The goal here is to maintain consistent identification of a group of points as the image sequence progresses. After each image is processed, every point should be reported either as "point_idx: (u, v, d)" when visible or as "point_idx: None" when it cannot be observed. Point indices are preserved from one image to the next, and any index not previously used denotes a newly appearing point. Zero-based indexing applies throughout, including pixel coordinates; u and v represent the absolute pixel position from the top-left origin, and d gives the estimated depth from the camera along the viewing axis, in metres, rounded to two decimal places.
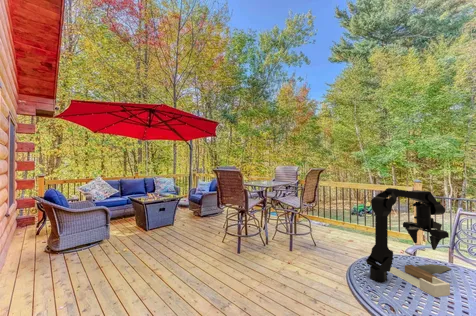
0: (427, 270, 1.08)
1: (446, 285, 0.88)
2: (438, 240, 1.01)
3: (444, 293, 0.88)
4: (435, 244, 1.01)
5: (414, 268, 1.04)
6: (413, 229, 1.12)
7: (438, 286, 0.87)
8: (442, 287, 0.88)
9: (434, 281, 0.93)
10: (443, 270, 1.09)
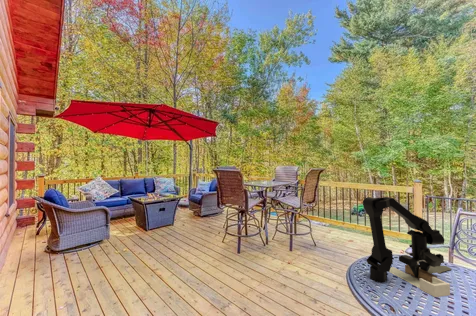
0: None
1: (446, 285, 0.88)
2: (415, 268, 1.01)
3: (444, 293, 0.88)
4: (414, 271, 1.02)
5: None
6: (424, 261, 1.03)
7: (438, 286, 0.87)
8: (442, 287, 0.88)
9: (434, 281, 0.93)
10: (443, 270, 1.09)
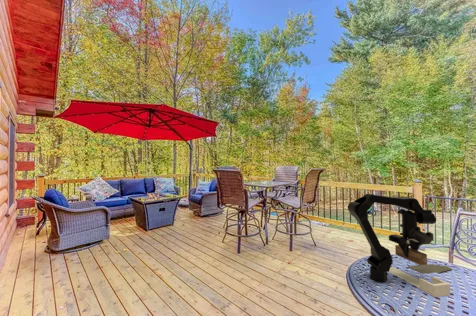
0: (425, 269, 1.09)
1: (446, 285, 0.88)
2: (405, 247, 0.99)
3: (444, 293, 0.88)
4: (403, 250, 1.01)
5: None
6: (414, 241, 1.02)
7: (438, 286, 0.87)
8: (442, 287, 0.88)
9: (434, 281, 0.93)
10: (442, 270, 1.09)
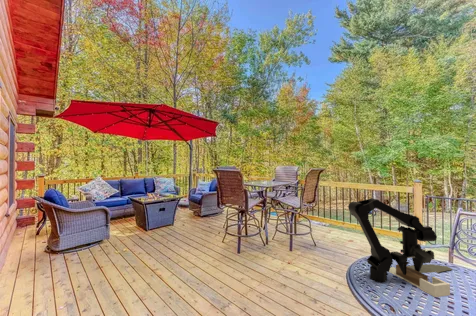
0: (423, 269, 1.09)
1: (446, 285, 0.88)
2: (403, 265, 0.99)
3: (444, 293, 0.88)
4: (401, 268, 1.00)
5: None
6: (417, 258, 1.02)
7: (438, 286, 0.87)
8: (442, 287, 0.88)
9: (434, 281, 0.93)
10: (442, 270, 1.10)
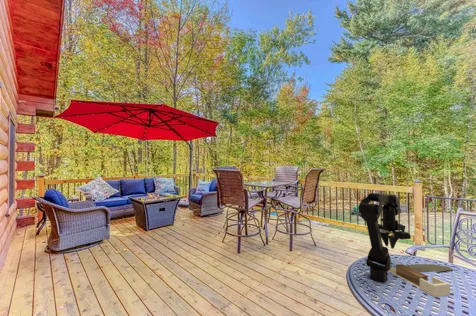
0: (422, 268, 1.10)
1: (446, 285, 0.88)
2: (396, 239, 1.09)
3: (444, 293, 0.88)
4: (393, 243, 1.09)
5: (405, 267, 1.03)
6: (385, 232, 1.14)
7: (438, 286, 0.87)
8: (442, 287, 0.88)
9: (434, 281, 0.93)
10: (441, 270, 1.10)
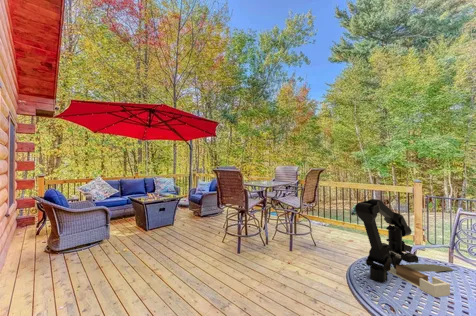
0: (421, 268, 1.10)
1: (446, 285, 0.88)
2: (400, 260, 1.07)
3: (444, 293, 0.88)
4: (397, 264, 1.07)
5: (405, 267, 1.03)
6: (393, 254, 1.09)
7: (438, 286, 0.87)
8: (442, 287, 0.88)
9: (434, 281, 0.93)
10: (441, 270, 1.10)
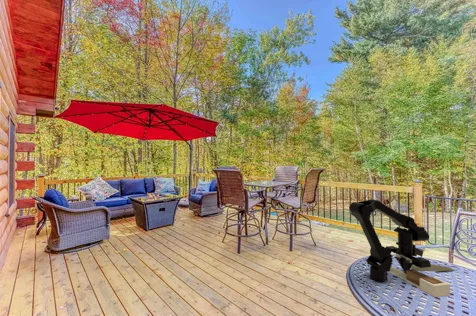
0: None
1: (446, 285, 0.88)
2: (410, 264, 1.02)
3: (444, 293, 0.88)
4: (407, 268, 1.02)
5: (416, 273, 0.98)
6: (403, 258, 1.04)
7: (438, 286, 0.87)
8: (442, 287, 0.88)
9: None
10: (441, 270, 1.10)
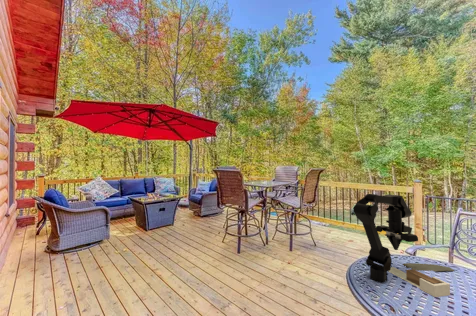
0: (419, 267, 1.11)
1: (446, 285, 0.88)
2: (400, 241, 1.07)
3: (444, 293, 0.88)
4: (397, 245, 1.07)
5: (416, 273, 0.98)
6: (393, 235, 1.09)
7: (438, 286, 0.87)
8: (442, 287, 0.88)
9: None
10: (440, 270, 1.10)
